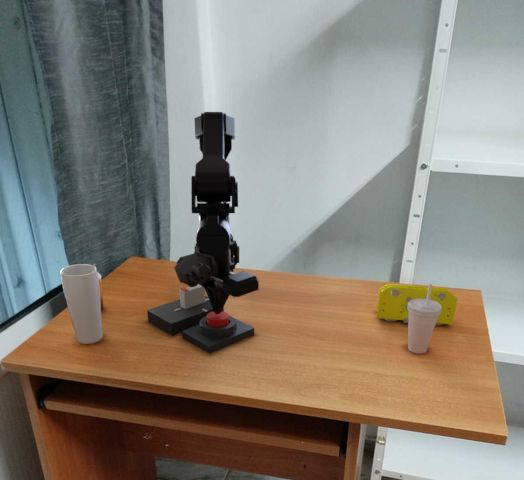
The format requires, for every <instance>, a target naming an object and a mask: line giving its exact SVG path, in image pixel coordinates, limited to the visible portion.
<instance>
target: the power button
mask: <svg viewBox="0 0 524 480" xmlns="http://www.w3.org/2000/svg"><path fill="white" fill-rule="evenodd" d="M229 316H230V315H229V313H228V312H225V311H224V312H223V311H221V313H220V314H215V313H214V312H210V313H209V314H208V315H207V324H208V325H209V326H211V327H224V326H226V325H228V324H229Z"/></svg>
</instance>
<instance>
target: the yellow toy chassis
mask: <svg viewBox="0 0 524 480" xmlns="http://www.w3.org/2000/svg"><path fill="white" fill-rule="evenodd" d="M428 288H429V286H423V285H421V286H420V285H419V286H418V285H408V284H397V283H387V284H386V285H383V286H382V287H380V288H379V289H378V296H377V306H376V310H377V313H376V319H384V320H385V321H387V322H397V321H403V323H404V324H408V320H409V310H408V309H407V306H408V302H409V301H411V300H413V299H427V294H428ZM430 300H433V301H435V302H437V303H439V304H440V305H441V306H442V309H441V313H440V314H439V315H438V318H437V321H436V324H435V326H442V325H453V324H454V323H453V322H454V318H455V314H456V308H457V305H458V304H457V303H458V297H457V296H456V295H454V293H452V292H451V291H450V290H449V289H448V288H446V287H436V286H435V287H434V286H432V289H431V295H430Z"/></svg>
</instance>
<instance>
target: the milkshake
mask: <svg viewBox="0 0 524 480" xmlns="http://www.w3.org/2000/svg"><path fill="white" fill-rule="evenodd" d="M93 266H95V267H96V263H93ZM97 274H98V279H99V286H100V301H101V313H102V312H103V311H104V299H103V287H102V286H103V282H102V281H103V280H102V274H101V273H99V272H98V271H97Z"/></svg>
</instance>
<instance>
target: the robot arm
mask: <svg viewBox="0 0 524 480" xmlns="http://www.w3.org/2000/svg"><path fill="white" fill-rule="evenodd" d="M235 120H236V118H234V117H231V116H230V115H227V113H226V112H223V111H204V112H201V113H200V115H199V116H197V117H194V137H195V140H198V145H199V150H200V152H201V154H202V158H201V159H200V160H198V162H196V163H195V171H194V175H191V184H190V185H191V190H190V191H191V214H198V226H197V231H196V236H195V242H196V243H195V245H194V247H193V248H194V252H193V253H191V254H186V255H183V256H180V257H179V258H178V259H177V261H176V264H175V266H174V267H173V270H174V271H175V274H176V276H177V278H178V281H179V282H180V283H181V284H184V285H186V286H188V287H195V286H197V285H198V284H199V285H201V286H202V287H203V288H204V289H205V294H206V295H207V297H208V298H209V301H210V303H211V306H212V308H213V311H214V313H215V314H220V313H221V311H222V309H223V307H224V308H225V306H226V302H227V301H228V299H229V297H230V296H231V297H233V298H239V297H242V296H245V295H248V294H250V293H253V292H256V291H259V289H260V288H259V287H260V284H259V283H260V281H259V278H258V277H257V276H256V275H255V274H252V273H249V272H247V271H244V270H242V271H239V272H234V270H235V269H236V266H237V264H239V263H240V246H239V245H238V243H237V240H234V231H233V229H232V227H231V214H236V208H239V189H238V188H239V184H238V181H237V180H236V177H235V175H231V163H230V162H228V161H227V159H228V157H229V155H230V153H231V151H232V149H233V146H232V145H233V140H236V121H235ZM196 202H197V203H196ZM230 202H231V203H230ZM230 204H231V206H230Z"/></svg>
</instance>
